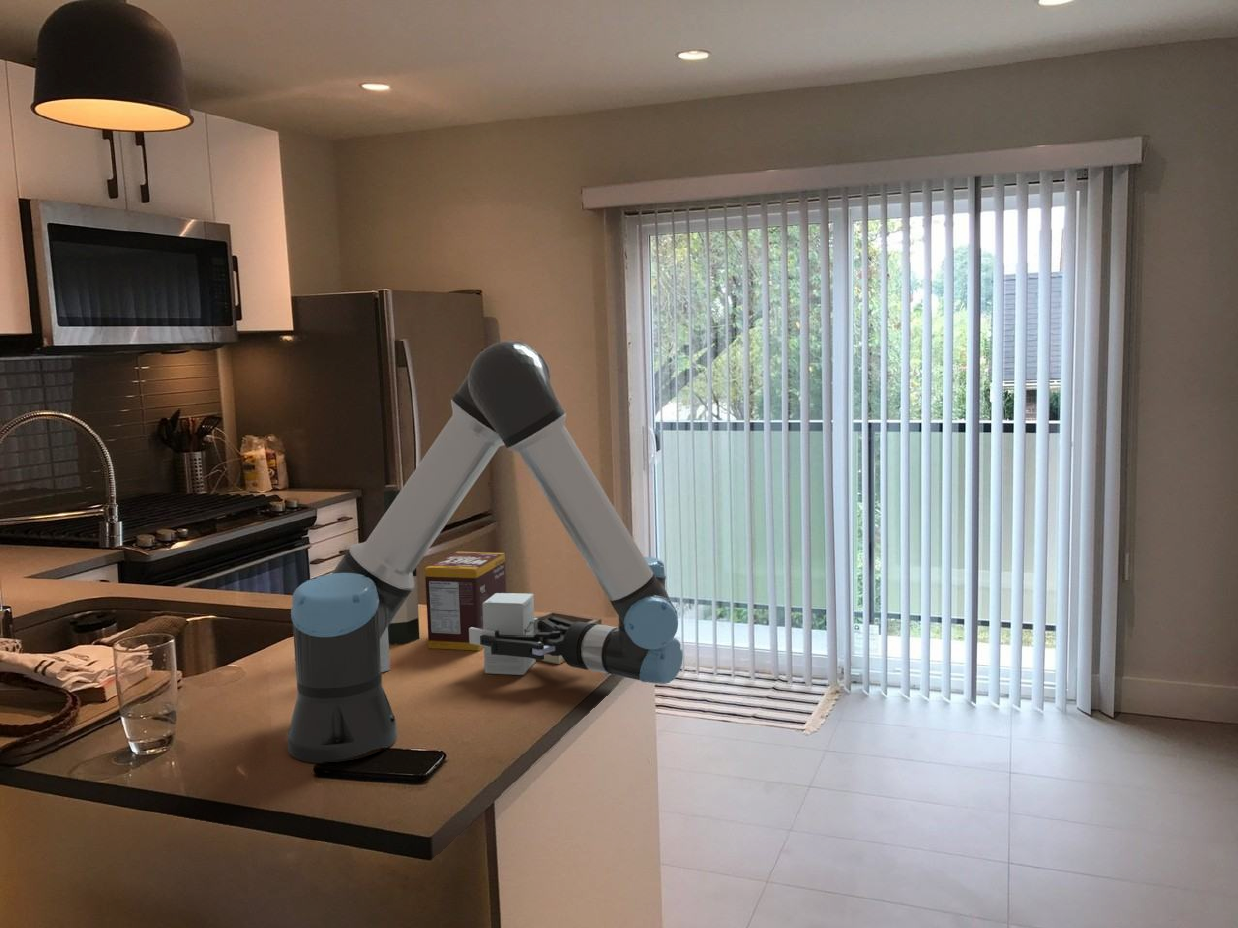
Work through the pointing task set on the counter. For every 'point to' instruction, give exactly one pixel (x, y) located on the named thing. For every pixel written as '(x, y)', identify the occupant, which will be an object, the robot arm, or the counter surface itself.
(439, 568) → the supplement box
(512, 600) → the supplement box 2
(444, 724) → the counter surface
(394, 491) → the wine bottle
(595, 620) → the dock
